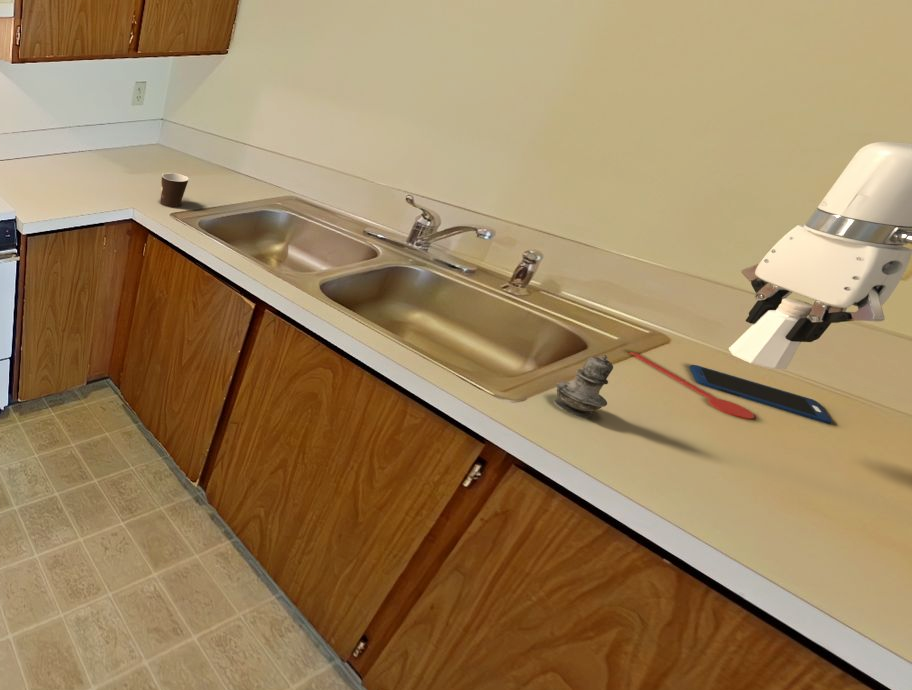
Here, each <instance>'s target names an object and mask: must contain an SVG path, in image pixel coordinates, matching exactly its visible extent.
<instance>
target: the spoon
mask: <svg viewBox="0 0 912 690" xmlns="http://www.w3.org/2000/svg"><path fill="white" fill-rule="evenodd" d="M629 354H630V355H632V356H633V357H635V358H637V359H639V360H641V361H642V362H644V363H646V364H647V365H650V366H651V367H653V368H654V369H656V370H658V371H660V372H662V373H663V374H665V375H666V376H669V377H671V378H672V379H673V380H676V381H677V382H679V383H681V384H682V385H684V386H686V387H688V388H689V389H691V390H693V391H695V392H697V393H698V394H699V395H701V396H703V397H705V398H707V399H709V400H708V404H709V405H711V406H712V407H713V408H715V409H716V410H719V411H721V412H723V413H725V414H727V415H730V416H733V417H736V418H739V419H744V420H753V419H754V418H755V415H754V413H752V412H751V411H750V410H749V409H747V408H746V407H743V406H741V405H740V404H737V403H734V402H732V401H729V400H725V399H720V398H717V397H715V396H713V395H711V394H710V393H708V392H707V391H704V390H703V389H701V388H699V387H697V386H696V385H694V384H692V383H690V382H689V381H687V380H685V379H683V378H681V377H680V376H678V375H677V374H674V373H672V372H671V371H670V370H667V369H665V368H664V367H662V366H660V365H659V364H657V363H655V362H653V361H652V360H650V359H648V358H647V357H644V356H642V355H641V354H639V353H637V352H629Z"/></svg>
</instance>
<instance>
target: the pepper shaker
mask: <svg viewBox="0 0 912 690" xmlns="http://www.w3.org/2000/svg"><path fill="white" fill-rule="evenodd" d="M812 307H813V304H812V303H809V302H808V301H804V300H801V299H796V298H789V297H787V298H785V299H782V302H781V304H780V305H779V306H778V308H777V309H776V310H768V311H767V312H766V313H765V314H763V315H762V316H761V317H760V318H759V319H758V320H757V321H756V323H755V324H752V325H751V326H750V327H749V328H748V329H747V330H745V332H743V334H742V335H741V336H740V337H739V338H738V339H736V341H734V342H733V343H732V345H730V346H729V347H728V350H729V352H730V353H731V355H732V356H734V357H735V358H738V359H740V360H742V361H745V362H747V363H748V364H751V365H755V366H757V367H761V368H765V369H769V370H787V369H788V368H789V366H790V364H791V362H792V361H793V358H794V357H795V354H796V353H797V351H798V349H799V347H800V345H801V343H802V342H793V341H790V340H787V339H786V338H785V337H786V335H787V334H788V333H789V331H790V330H791V329H792V327H793V326H794V325H795V324H796V322H797V321H798V320H799V319H800V318H808V316H809V314H810V312H811V309H812Z"/></svg>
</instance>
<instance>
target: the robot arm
mask: <svg viewBox="0 0 912 690" xmlns="http://www.w3.org/2000/svg"><path fill="white" fill-rule="evenodd" d="M908 244H911V245H912V142H899V141H876V142H872V143H868V144H866V145H864V146H862V147H861V148H859V149H858V151H857V152H856V153H854V155H853V157H852V159H850V161H849V163H848V164H847V165H846V167H845V168H844V169H843V171H842V172H841V174H840V175H839V177H838V178H837V179H836V181H835V182H834V184H832V186H831V188H830V189H829V190H828V191H827V193H826V195H825V196H824V197H823V199H822V200H821V202H820V203H819V204H818V206H817V207H816V208H815V210H814V211H813V213H812V214H811V215H810V217H809V218H808V219H807V221H806V222H805V223H800V224H799V223H798V225H796V226H794V227H793V228H791V230H789V231H788V232H787V233H786V234H785V235H783V236H782V237H781V238H780V239H779V240H778V241H777V242H776V243H775V244H774V245H773V246H772V248H770V250H768V252H767V253H765V256H764V257H763V258H762V259H761V260H760V262H759V263H756V264H754V265H752V266H748V267H745V268H744V269H741V272H740V273H741V274H742V275H743V277H744V278H745V279H747V280H748V282H750V285H751V287H752V289H753V290H754V292H755V294H754V299H756V300H757V301H756V302H755V304H754V305H753V306H752V308H751V309H750V310H749V311H748V316H747V318H746V319H745V322H746V323H749V324H752V325H753V324H755V323H756V321H757V320H758V319H759V318H760V317H761V316H762V315H763V314H765V313H766V312H767V311H768V310H776V309H777V308H778V306H779V305H780V304H781V302H782V299H785V298H789V296H790V295H792V294H793V293H794V294H796V295H800V296H802V297H805V298H807V299H811V300H813V301H814V302H813V304H812V305H813V307H812V309H811V312H810V314H809V315H808V316H807V318H800V319H799V320H798V321H797V322H796V324H795V325H794V326H793V327H792V329H791V330H790V331H789V333H788V334H787V335H786V337H785V338H786V339H787V340H790V341H793V342H801V343H813V342H814V341H817V340H819V339H821V337H822V335H823V334H824V333H825V332H826V331H827V329H828V328H829V327H830V326H831V324H839V323H846V322H857V321H859V322H884V321H885V314H884V311H883V307H882V306H883V305H884V304H885V303H886V302H887V301H888V299H889V298H890V297H891V296H892V294H893V292H894V291H895V290H896V288H897V286H898V285H899V284H900V283H901V280H902V278H903V277H904V276H905V275H904V274H905V272H906V270H907V269H908V266H909V263H910V260H911V257H912V248H909V247H906V245H908ZM852 306H855V307H857V310H856V311H847V309H848V308H850V307H852Z"/></svg>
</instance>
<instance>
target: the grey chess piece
mask: <svg viewBox="0 0 912 690" xmlns="http://www.w3.org/2000/svg"><path fill="white" fill-rule="evenodd" d="M607 359H608V356H607V355H606V354H603V355H601V357H599V356H590V357H588V358H587V360H586V361H585V363H584V364H583V366H582V367H581V368H579V369H577V370H575V371H576V376H575V377H574V379H573V380H572V381H571V382H569V381H559V382H557V383H556V384H555V387H556V395H557V397H555V398H554V399H553V400H552V401H553V403H554V404H555V406H556V407H558V408H559V409H561V410H562V411H564V412H566V413H568V414H571V415H573V416H576V417H580V418H584V419H585V418H586V419H589V418H593V413H592V412H595V411H598V410H600V409H602V408H605V407H606V406H607V405H608V402H607V400H606V398H604V396H602V395H601V394H600V391H601V390H602V388H603V386H604V385H608V384H609V380H608V377H609V376H610V374H611V373H612V371H613V370H614V365H613V363H612V362H611V361H609V360H607Z"/></svg>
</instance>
